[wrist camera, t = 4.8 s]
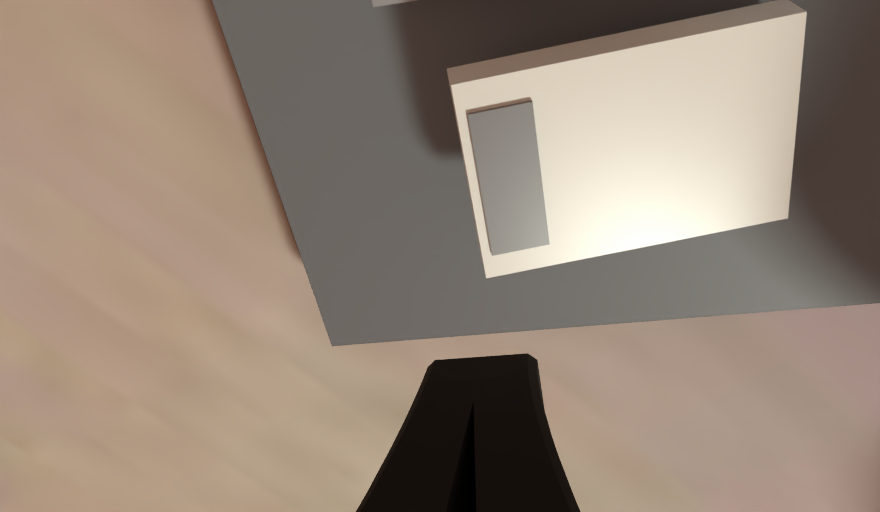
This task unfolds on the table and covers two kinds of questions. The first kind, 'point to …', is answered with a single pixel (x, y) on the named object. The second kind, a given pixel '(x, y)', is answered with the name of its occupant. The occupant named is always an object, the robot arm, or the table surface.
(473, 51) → the control panel
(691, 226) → the plate
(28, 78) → the table surface
